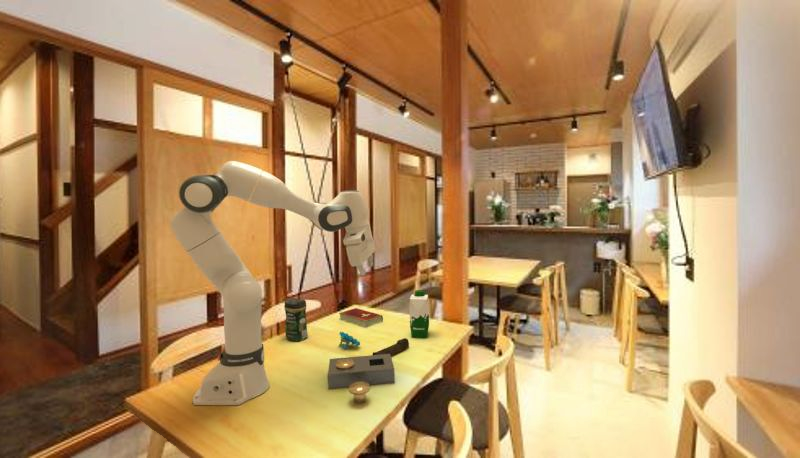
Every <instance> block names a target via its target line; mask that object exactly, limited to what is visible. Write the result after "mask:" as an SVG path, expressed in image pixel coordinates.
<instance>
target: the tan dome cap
mask: <svg viewBox="0 0 800 458" xmlns="http://www.w3.org/2000/svg"><path fill="white" fill-rule="evenodd" d="M370 389H371V385H369V384H368V383H367V382H355V383H352V384H351V385H350V386H349V387H348V392H349V393H350V394H352V395H353V402H354V404H355V405H362V404H365V403H366V402H367V401H366V400H367V399H366V398H367V396H366V394H367V393H368V392H370Z"/></svg>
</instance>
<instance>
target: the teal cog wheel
mask: <svg viewBox="0 0 800 458" xmlns="http://www.w3.org/2000/svg"><path fill="white" fill-rule="evenodd" d="M339 336H340V337H339V338H340V342H339V344H338V347H341V345H342V343H345V344H344V346H343V347H342V350H344V351H345V350H346V349H347V347H348V345H349V344H350V343H351V344H353V345H356V346H361V341H360V340H359V341H358V339H357V338H354V336H352V335H349V334H348V333H347V332H344V331H340V332H339Z"/></svg>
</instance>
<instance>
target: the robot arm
mask: <svg viewBox="0 0 800 458" xmlns="http://www.w3.org/2000/svg"><path fill="white" fill-rule="evenodd" d="M178 196H179V201H181V204H182V205H183V208H182V209H180V210H178V211H177V212H175V214H173V216H172V217H171V219H170V221H169V225H170V228H171V231H172V233H173V234H174V236H175V237H176V239H177V241H178V243H179V245H181V247H182V248H183V250H184V251H185V253H186V254H187V255H188V256H189V257H190V259H191V260H192V261H193V262H194V264H195V265H196V266H197V268H198V269H199V270H200V271H201V273H202V274H203V275H205V277H206V278H207V279H208V280H209V281H210V282H211V284H212V285H213V287H215V288H216V289H217V290H218V292H219V293H220V294H221V297H222V301H223V304H222V305H223V323H224V324H223V331H224V333H223V334H224V347H223V348H222V349H221V352H219V354H218V356H217V361H219V362H218V363H217V364H216V365H214V367H212V368H211V369H210V370H209V371H208V372H207V373H206V374H205V375H204V377H203V379H202V381H201V383H200V384H201V385H200V387H199V388H198V389H197V391H196V392H195V393H194V395H193V398H192V404H193V405H194V406H239V405H242V404H244V403H246V402H247V401H249V400H251V399H253V398H256V397H258V396H261V395H262V394H263V393H265V392H266V391H267V390H268V389H269V388H270V381H269V379H268V376H267V373H266V369H265V364H264V363H265V349H264V344H263V341H262V306H263V305H262V304H263V303H262V301H263V299H262V298H263V297H262V296H263V294H262V293H263V292H262V287H261V285H260V283H259V282H258V280H257V279H256V278H255V277H254V276H253V274H252V272H250V270H249V269H248V268H247V266H246V265H245V263H244V262H243V261H242V259H241V258H240V256H239V255H238V254H237V252H236V251H235V249H234V248H233V247H232V245H231V244H230V243H229V241H228V240H227V239H226V236H224V235H223V234H222V232H221V231H220V229H219V227H217V225H216V224H215V223H214V221H213V219H212V213H213V212H214V211H215V210H217V208H218V207H220V206H221V204H222V202H223V201H224V199H225V198H227V197H234V198H238V199H241V200H244V201H245V202H249V203H250V204H253V205H256V206H260V207H264V208H268V209H283V210H286V211H290V212H293V213H294V214H297V215H299V216H302V217H303V218H306V219H308V220H309V221H310V222H311V223H312V224H313V225H314V226H315V227H316V228H318V229H319V230H323V231H326V232H329V233H334V232H337V231H339V230H342V229H344V228H345V236H344V237H343V239H342V242H343V245H344V246H345V250H346V255H347V259H348V262H349V264H350V266H351V267H352V268H353V267H356V269H357V271H358V272H359V276H365V275H366V269H365V267H364V263H365V262H366V265H367V267H368V268H371V267H373V266H374V261H373V257H374V256H373V254H374V253H375V252H376V244H375V241H374V237H373V235H372V234H373V233H372V230H371V229H372V228H371V224H370V221H369V220H368V211H367V206H366V205H367V204H366V203H365V198H364V196H363V194H362V192H360V191H359V190H355V189H353V190H342V191H340V192H339V193H338V194H337V195H336V197H334V198H333V199H332V200H330V201H329V202H314V201H312V200H310V199H307V198H306V197H303V196H302V195H298V194H296V193H295V192H293V191H291V189H289V188H288V187H287V185H286V184H285V183H284V181H282V180H281V179H279V178H278V177H276V176H275V175H273V174H271V173H269V172H267V171H266V170H263V169H261V168H258V167H256V166H253V165H252V164H251V165H250V164H247V163H244V162H240V161H237V160H229V161H227V162H225V163H224V164H223V165H221V166H220V168H219V170H218V172H217V173H216V174H196V175H193V176H190V177H188V178H187V179H185V180H183V182H182V183H181V185H180V187H179V190H178Z"/></svg>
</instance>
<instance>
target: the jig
mask: <svg viewBox="0 0 800 458" xmlns="http://www.w3.org/2000/svg"><path fill="white" fill-rule="evenodd" d="M392 359H393V358H392V355H390V354H381V355H359V356H358V355H357V356H350V357H349V356H348V357H339V358H337V357H336V358H335V357H334V358H329V363H328V371H327V382H328V383H327V385H328V388H327V389H328V390H334V389H335V390H336V389H346V388H349V386H350V385H351V384H352V383H355V382H367V383H368V384H369V385H370V386H376V385H385V384H387V385H389V384H394V383H396V381H395V380H396V379H395V366H394V363H393V360H392Z"/></svg>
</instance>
